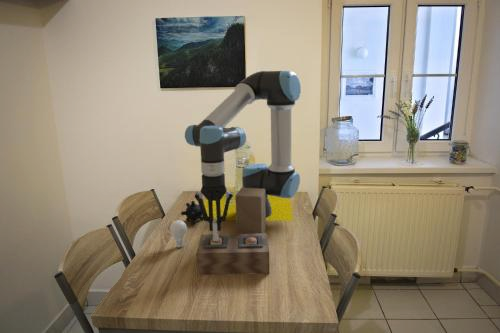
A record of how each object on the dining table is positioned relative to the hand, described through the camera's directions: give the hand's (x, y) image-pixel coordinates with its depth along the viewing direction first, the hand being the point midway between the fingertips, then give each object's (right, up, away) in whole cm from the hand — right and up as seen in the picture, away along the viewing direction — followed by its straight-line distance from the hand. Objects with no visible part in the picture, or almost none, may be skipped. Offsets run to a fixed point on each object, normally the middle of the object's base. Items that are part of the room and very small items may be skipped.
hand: (215, 239), depth 128 cm
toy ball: (-13, 0, +39) cm, 41 cm away
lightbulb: (-15, -6, +15) cm, 22 cm away
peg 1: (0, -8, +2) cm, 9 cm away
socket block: (+6, -9, +3) cm, 11 cm away
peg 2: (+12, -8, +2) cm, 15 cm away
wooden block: (+12, -4, +21) cm, 25 cm away
